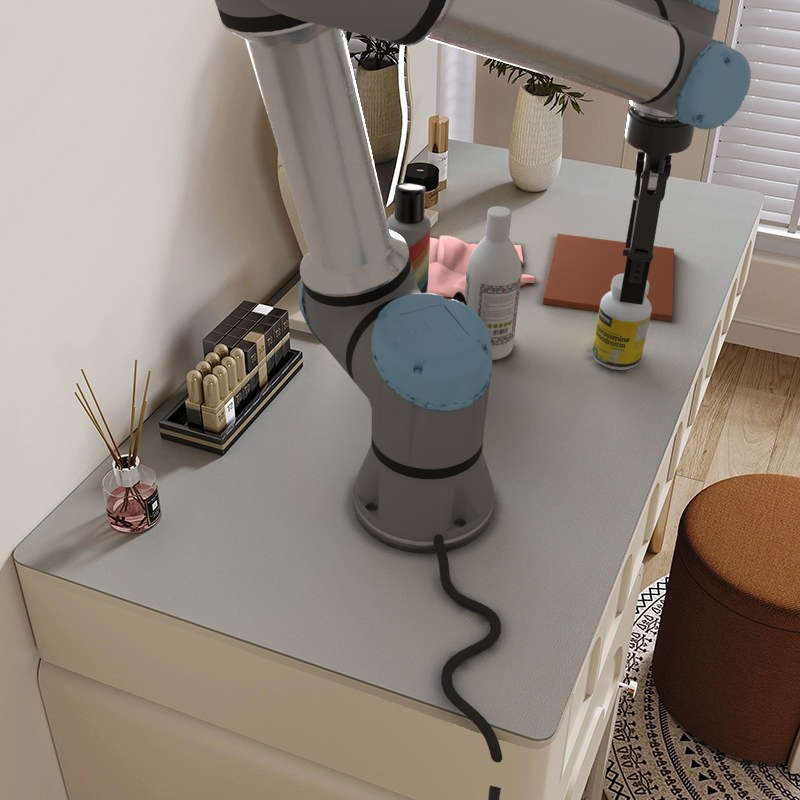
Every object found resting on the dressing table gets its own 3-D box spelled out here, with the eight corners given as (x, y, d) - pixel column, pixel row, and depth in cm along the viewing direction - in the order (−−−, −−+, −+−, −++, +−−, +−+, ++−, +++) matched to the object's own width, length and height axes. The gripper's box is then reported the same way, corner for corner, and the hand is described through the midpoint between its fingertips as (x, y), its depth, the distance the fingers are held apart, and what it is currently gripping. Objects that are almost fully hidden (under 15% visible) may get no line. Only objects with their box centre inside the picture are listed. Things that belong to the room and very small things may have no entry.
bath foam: (523, 350, 137) (540, 214, 125) (485, 368, 133) (498, 230, 121) (488, 327, 141) (500, 193, 129) (450, 344, 137) (459, 208, 125)
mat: (671, 321, 143) (672, 315, 143) (542, 303, 146) (543, 297, 146) (673, 254, 159) (674, 248, 158) (556, 238, 162) (557, 233, 161)
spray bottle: (379, 325, 141) (381, 190, 128) (392, 304, 145) (396, 172, 133) (418, 333, 139) (424, 198, 127) (431, 312, 143) (438, 180, 131)
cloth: (370, 278, 151) (370, 263, 149) (447, 222, 165) (448, 208, 164) (491, 322, 142) (492, 307, 140) (561, 259, 157) (563, 245, 155)
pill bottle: (581, 351, 137) (594, 275, 130) (620, 339, 139) (635, 264, 132) (610, 377, 132) (625, 300, 125) (651, 364, 135) (667, 288, 128)
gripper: (697, 158, 105) (661, 331, 118) (696, 74, 124) (666, 231, 137) (623, 150, 106) (595, 322, 119) (634, 68, 126) (609, 224, 139)
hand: (633, 274), depth 128 cm, fingers open, 13 cm apart
